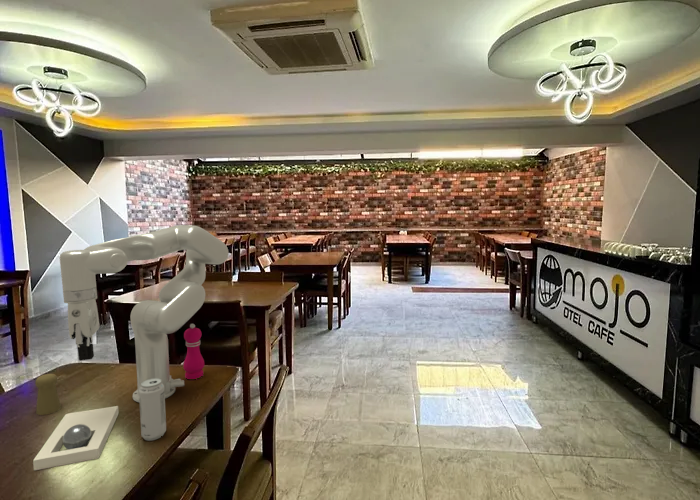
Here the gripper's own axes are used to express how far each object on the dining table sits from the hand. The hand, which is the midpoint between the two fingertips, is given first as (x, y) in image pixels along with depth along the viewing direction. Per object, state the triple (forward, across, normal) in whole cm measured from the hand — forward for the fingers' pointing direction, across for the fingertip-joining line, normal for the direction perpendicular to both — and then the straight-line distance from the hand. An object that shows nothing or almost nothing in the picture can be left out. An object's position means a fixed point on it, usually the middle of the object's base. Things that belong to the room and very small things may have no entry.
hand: (86, 358), depth 106 cm
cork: (+20, +13, +15) cm, 28 cm away
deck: (+19, -8, +1) cm, 21 cm away
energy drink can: (+20, -13, -17) cm, 29 cm away
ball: (+16, -12, 0) cm, 20 cm away
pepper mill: (+20, +23, -26) cm, 41 cm away
